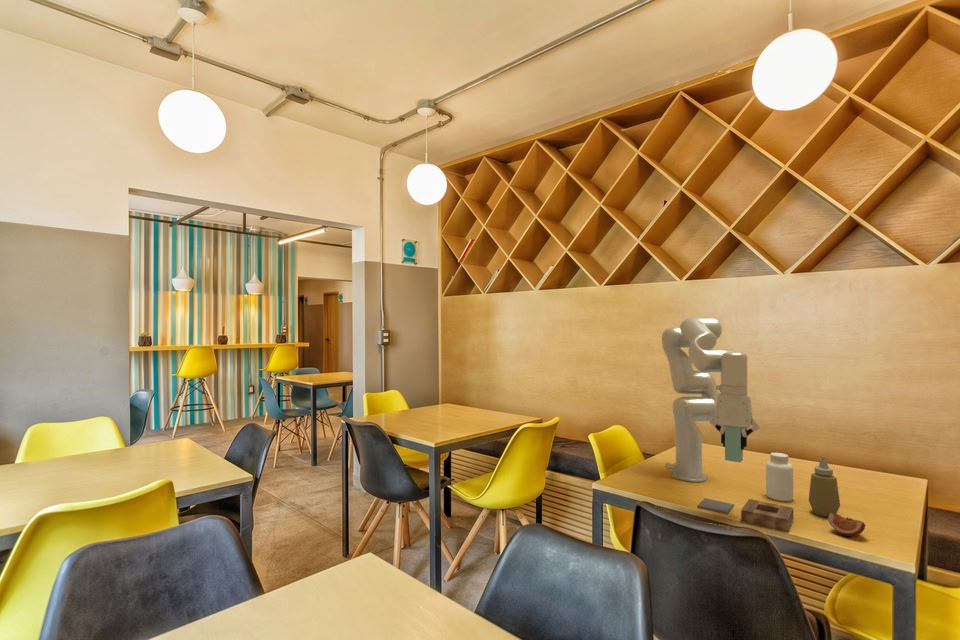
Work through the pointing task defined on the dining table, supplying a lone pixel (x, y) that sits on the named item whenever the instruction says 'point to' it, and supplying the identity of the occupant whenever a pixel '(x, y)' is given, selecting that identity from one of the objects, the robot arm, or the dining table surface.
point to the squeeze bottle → (824, 490)
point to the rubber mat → (715, 505)
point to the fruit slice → (846, 525)
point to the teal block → (733, 444)
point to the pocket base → (767, 515)
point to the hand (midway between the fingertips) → (733, 446)
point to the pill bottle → (779, 478)
